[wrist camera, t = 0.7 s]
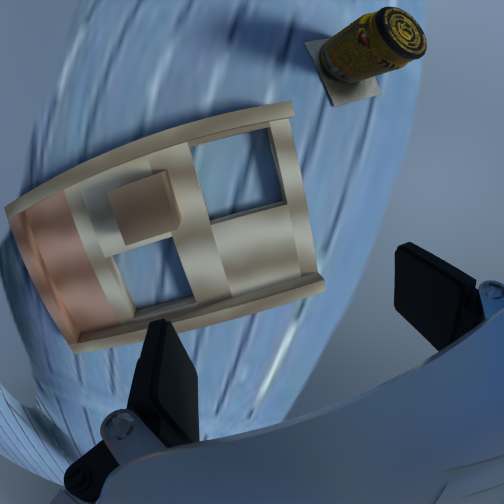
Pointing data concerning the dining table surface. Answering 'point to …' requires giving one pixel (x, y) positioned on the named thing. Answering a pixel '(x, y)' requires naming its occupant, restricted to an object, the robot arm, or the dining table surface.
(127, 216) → the walnut block
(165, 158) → the trap track
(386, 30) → the condiment
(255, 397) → the dining table surface
